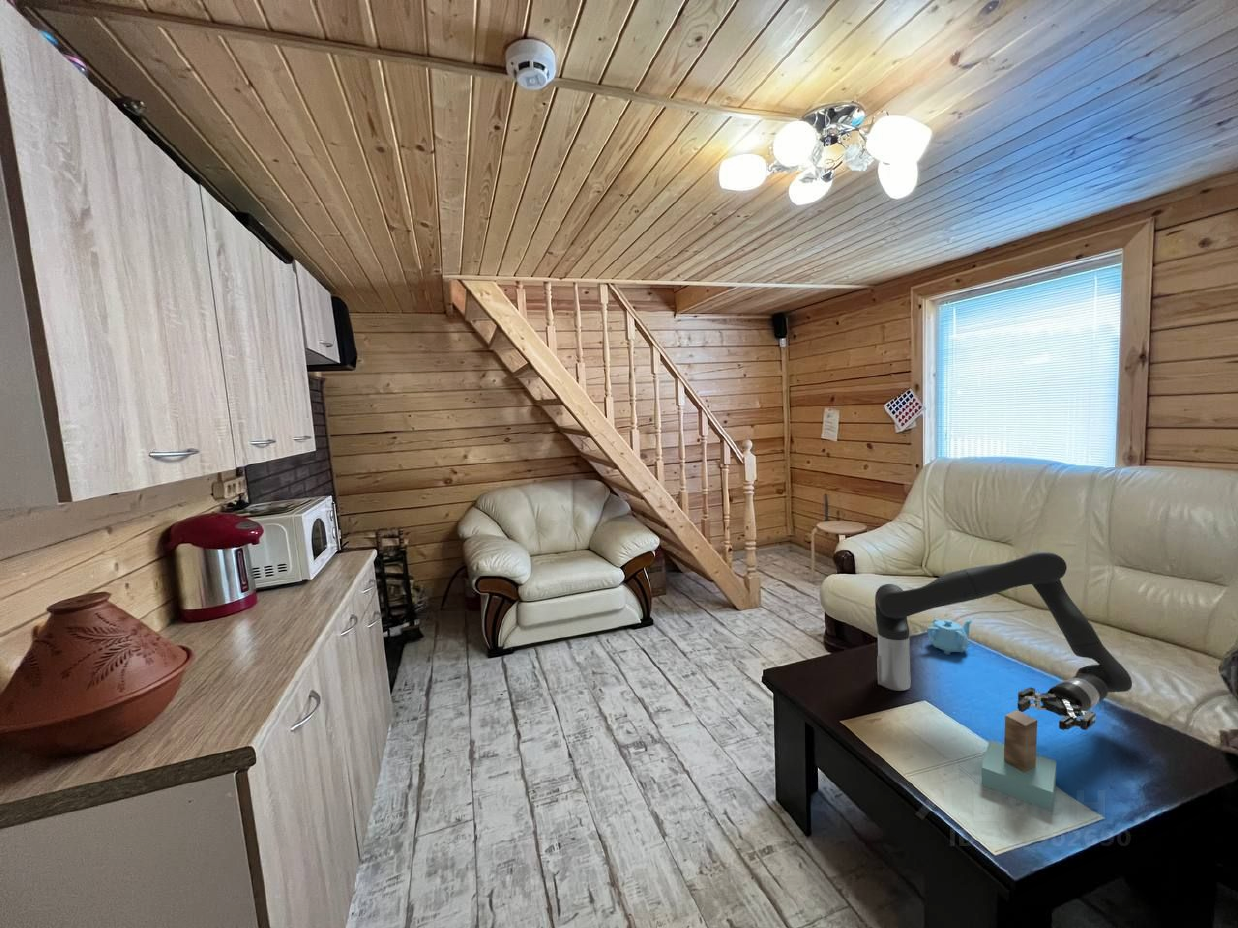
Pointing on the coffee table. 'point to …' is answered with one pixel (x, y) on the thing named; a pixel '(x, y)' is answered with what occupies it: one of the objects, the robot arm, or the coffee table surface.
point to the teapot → (949, 635)
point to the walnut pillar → (1020, 740)
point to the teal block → (1020, 777)
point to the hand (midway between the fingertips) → (1039, 716)
